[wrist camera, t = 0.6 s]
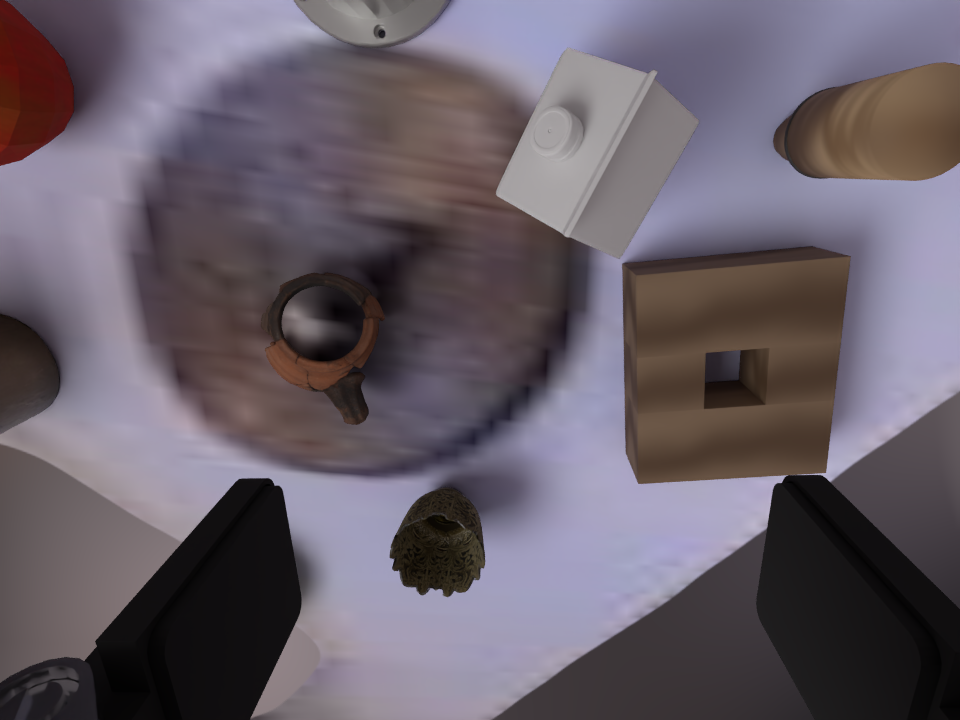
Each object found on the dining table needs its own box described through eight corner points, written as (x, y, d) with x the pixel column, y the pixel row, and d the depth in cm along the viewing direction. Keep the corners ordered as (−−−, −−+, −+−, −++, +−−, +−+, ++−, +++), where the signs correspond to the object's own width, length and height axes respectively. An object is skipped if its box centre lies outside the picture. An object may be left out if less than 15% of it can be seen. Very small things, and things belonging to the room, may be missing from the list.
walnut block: (622, 263, 43) (636, 275, 38) (811, 246, 42) (850, 256, 37) (625, 452, 48) (638, 483, 43) (794, 442, 47) (825, 472, 42)
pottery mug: (249, 321, 46) (228, 298, 38) (351, 271, 49) (351, 239, 41) (321, 445, 46) (315, 448, 38) (419, 389, 49) (432, 381, 41)
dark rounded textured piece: (492, 470, 49) (489, 525, 42) (484, 539, 52) (480, 603, 44) (409, 460, 49) (391, 513, 42) (404, 530, 52) (387, 592, 44)
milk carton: (632, 138, 40) (733, 113, 22) (583, 228, 42) (637, 274, 24) (545, 90, 39) (575, 24, 21) (499, 185, 41) (491, 198, 23)
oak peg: (755, 101, 39) (877, 68, 26) (835, 92, 38) (998, 54, 25) (751, 180, 40) (863, 186, 28) (827, 173, 40) (976, 175, 27)
